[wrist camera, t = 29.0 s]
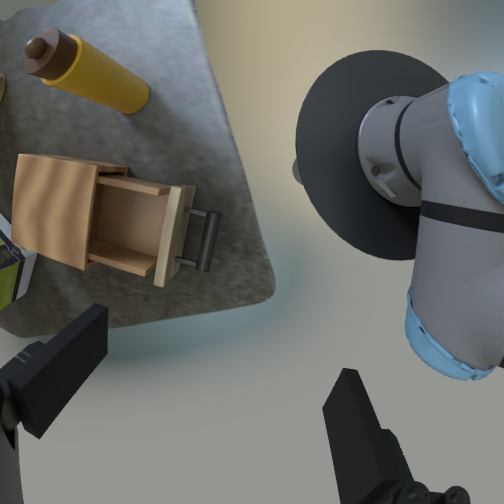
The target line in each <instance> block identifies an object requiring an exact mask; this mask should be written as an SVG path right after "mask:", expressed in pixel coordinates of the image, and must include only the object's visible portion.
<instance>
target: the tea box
mask: <svg viewBox="0 0 504 504" xmlns="http://www.w3.org/2000/svg"><path fill="white" fill-rule="evenodd" d="M37 254H38V253H36V252H34V251H31V250H29V249H26V248H24V247H21V246H19V245H16V244H14V243H12V242H11V224H10V223H9V222H8V221H7V220H6V219H5V218H4V217H3V216H2V214H1V213H0V310H1V309H2V308H4V307H5V306H7V305H9V304H10V303H12V302H14V301H15V300H17V299H18V298H20V297H21V296H23V295H24V294H26V293H27V289H28V286H29V282H30V278H31V275H32V271H33V268H34V264H35V261H36V257H37Z"/></svg>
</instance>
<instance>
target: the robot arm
mask: <svg viewBox="0 0 504 504" xmlns="http://www.w3.org/2000/svg"><path fill="white" fill-rule="evenodd" d="M356 154H357V160H358V163H359V166H360V169H361V171H362V173H363V175H364V177H365V179H366V181H367V182H368V183H369V185H370V186H371V187H372V188H373V190H374V191H375V192H376V193H378V194H379V195H380V196H381V197H383V198H384V199H386V200H388V201H390V202H392V203H394V204H398V205H402V206H407V207H417V206H421V211H420V219H419V230H418V240H417V249H416V257H415V263H414V269H413V275H412V281H411V286H410V287H409V291H408V294H407V301H408V307H407V313H406V319H405V332H406V336H407V338H408V340H409V342H410V346H411V348H412V349H413V350H414V352H415V353H416V354H417V355H418V357H419V358H421V360H422V361H423V362H425V363H426V364H427V365H428V366H430V367H431V368H433V369H434V370H436V371H438V372H439V373H441V374H443V375H446V376H448V377H451V378H454V379H458V380H467V379H469V378H471V379H472V380H480V379H482V378H485V377H486V376H488V375H489V374H490V373H491V372H492V371H493V370H494V369H495V368H496V366H499V367H502V368H504V75H502V74H500V73H497V72H491V71H485V72H479V73H475V74H472V75H468V76H467V75H466V76H460V77H458V78H456V79H455V80H454V81H452V82H451V83H449V84H447V85H444V86H442V87H440V88H438V89H436V90H434V91H432V92H430V93H428V94H426V95H424V96H422V97H419V98H415V97H408V96H395V97H390V98H387V99H384V100H382V101H380V102H378V103H377V104H375V105H374V106H372V107H371V108H370V109H369V110H368V111H367V112H366V113H365V115H364V116H363V118H362V120H361V122H360V124H359V127H358V130H357V135H356ZM107 334H108V308H107V307H105V306H102V305H99V304H97V303H94V304H93V305H92V306H91V307H89V308H88V309H87V310H86V311H84V312H83V313H82V314H81V315H79V316H78V317H77V318H76V319H75V320H73V321H72V322H71V323H70V324H69V325H67V326H66V327H65V328H64V329H63V330H61V331H60V332H59V333H58V334H57V335H55V336H54V337H53V338H52V339H51V340H50V341H48V342H47V343H46V344H44V343H42V342H40V341H37V342H35V343H32V344H29V345H28V346H27V347H26V348H24V349H23V350H22V351H21V352H20V353H18V354H17V355H16V357H14V358H12V359H11V360H10V361H9V362H8V363H6V365H4V366H3V367H2V368H1V369H0V504H24V501H23V494H22V487H21V477H20V467H19V446H18V429H17V425H18V424H19V422H20V421H21V422H22V424H23V427H24V429H25V430H26V431H27V432H29V433H30V434H32V435H34V436H35V437H37V438H38V439H40V438H41V437H42V436H43V434H44V433H45V432H46V430H47V429H48V427H49V426H50V425H51V424H52V422H53V421H54V420H55V418H56V417H57V416H58V415H59V413H60V412H61V411H62V409H63V408H64V407H65V405H66V404H67V403H68V402H69V400H70V399H71V398H72V397H73V395H74V394H75V393H76V392H77V390H78V389H79V388H80V387H81V385H82V384H83V383H84V382H85V380H86V379H87V378H88V376H89V375H90V374H91V373H92V372H93V371H94V369H95V368H96V367H97V366H98V364H99V363H100V362H101V361H102V359H103V358H104V357H105V356H106V355H107V354H108V349H107V341H108V340H107V339H108V335H107ZM322 410H323V414H324V419H325V424H326V429H327V434H328V439H329V444H330V449H331V454H332V459H333V465H334V470H335V475H336V480H337V486H338V492H339V497H340V503H341V504H471V503H470V497H469V494H468V492H467V491H466V490H465V489H464V488H462V487H460V486H452V487H451V488H449V489H448V490H447V491H446V492H445V493H437V492H429V490H428V488H427V487H426V486H425V485H424V484H422V483H420V482H417V481H414V479H413V477H412V474H411V472H410V469H409V467H408V464H407V462H406V459H405V457H404V455H403V452H402V449H401V448H400V445H399V442H398V440H397V438H396V436H395V435H394V434H393V433H392V432H391V431H390V430H389V429H381V427H380V424H379V421H378V419H377V416H376V414H375V411H374V409H373V406H372V404H371V402H370V399H369V397H368V394H367V392H366V389H365V387H364V385H363V382H362V380H361V378H360V375H359V373H358V371H357V370H354V369H348V368H343V369H342V371H341V374H340V376H339V377H338V379H337V381H336V383H335V385H334V387H333V389H332V391H331V393H330V395H329V397H328V399H327V400H326V402H325V404H324V406H323V408H322Z"/></svg>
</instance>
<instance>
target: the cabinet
mask: <svg viewBox="0 0 504 504" xmlns="http://www.w3.org/2000/svg"><path fill="white" fill-rule="evenodd" d="M128 168H129V167H126V166H120V165H115V164H109V163H103V162H97V161H91V160H85V159H79V158H73V157H66V156H59V155H46V154H19V155H18V161H17V168H16V175H15V184H14V193H13V206H12V224H11V242H12V243H14V244H16V245H19V246H21V247H24V248H26V249H29V250H31V251H34V252H36V253H39V254H41V255H44V256H46V257H49V258H52V259H54V260H57V261H59V262H62V263H65V264H68V265H70V266H73V267H76V268H79V269H81V270H86V269H88V268H90V267H91V266H93V265H95V264H97V263H98V262H96V261H93V260H90V259H88V247H89V236H90V226H91V218H92V210H93V203H94V196H95V190H96V184H97V178H98V173H99V172H106V173H112V174H117V175H122V176H127V173H128Z"/></svg>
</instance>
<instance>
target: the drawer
mask: <svg viewBox="0 0 504 504" xmlns="http://www.w3.org/2000/svg"><path fill="white" fill-rule="evenodd" d="M195 190H196V186H193V185H176V186H170V185H165V184H161V183H156V182H151V181H146V180H142V179H137V178H132V177H127V176H122V175H117V174H112V173H106V172H99V173H98V178H97V184H96V190H95V196H94V203H93V210H92V218H91V226H90V236H89V247H88V259H90V260H93V261H96V262H99V263H102V264H106V265H109V266H112V267H115V268H118V269H121V270H124V271H128V272H131V273H134V274H137V275H141V276H144V277H145V276H146V275H148V274H149V273H150V272H151V271H152V270H153V269H155V268H156V272H155V279H154V285H156V286H159V287H164V286H165V285H166V284H167V283H168V282H169V280H170V279H171V278H172V277H173V276H174V275H175V274H176V273H177V272H178V271H179V268H180V263H182V264H186V265H190V266H193V267H196V269H197V270H198V271H201V272H209V269H210V264H211V260H212V255H213V251H214V246H215V242H216V238H217V233H218V229H219V225H220V220H221V216H222V214H221V213H220V212H216V211H208V212H206V211H202V210H198V209H194V208H192V203H193V199H194V194H195ZM190 214H194V215H198V216H202V217H207V218H206V223H205V227H204V232H203V236H202V241H201V246H200V250H199V255H198V260H197V261H195V260H191V259H187V258H183V257H182V252H183V247H184V242H185V237H186V232H187V227H188V222H189V217H190Z"/></svg>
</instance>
